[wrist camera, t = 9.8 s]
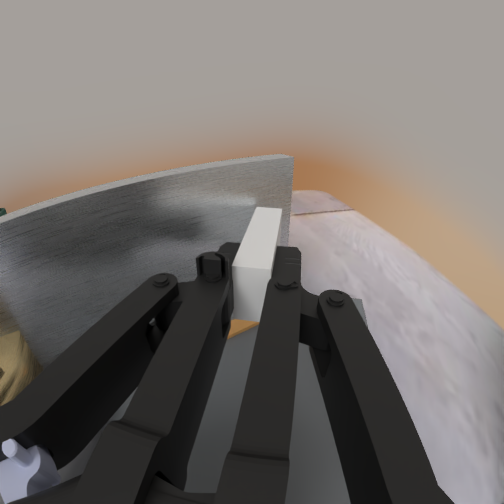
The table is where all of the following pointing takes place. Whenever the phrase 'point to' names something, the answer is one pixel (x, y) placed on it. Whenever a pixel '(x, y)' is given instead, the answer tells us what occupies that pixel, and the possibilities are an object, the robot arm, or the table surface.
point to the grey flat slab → (225, 419)
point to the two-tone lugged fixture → (118, 249)
